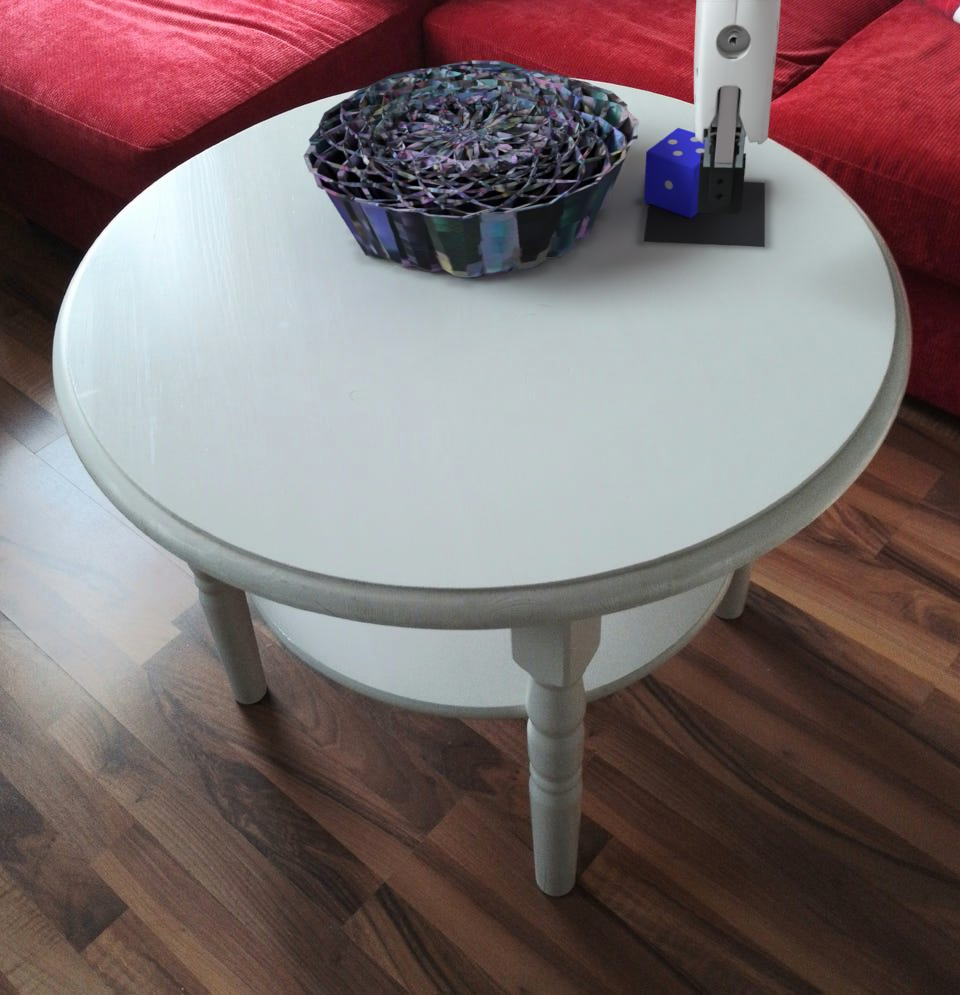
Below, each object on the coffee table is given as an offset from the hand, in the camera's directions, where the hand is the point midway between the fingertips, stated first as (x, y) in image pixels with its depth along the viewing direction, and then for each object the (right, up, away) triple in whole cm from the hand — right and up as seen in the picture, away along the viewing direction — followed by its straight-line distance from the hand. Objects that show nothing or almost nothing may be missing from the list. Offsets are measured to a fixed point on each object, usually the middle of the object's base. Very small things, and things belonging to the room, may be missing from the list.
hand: (718, 207), depth 82 cm
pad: (+2, +3, +14) cm, 15 cm away
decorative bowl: (-18, +4, +16) cm, 25 cm away
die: (0, +5, +16) cm, 17 cm away
